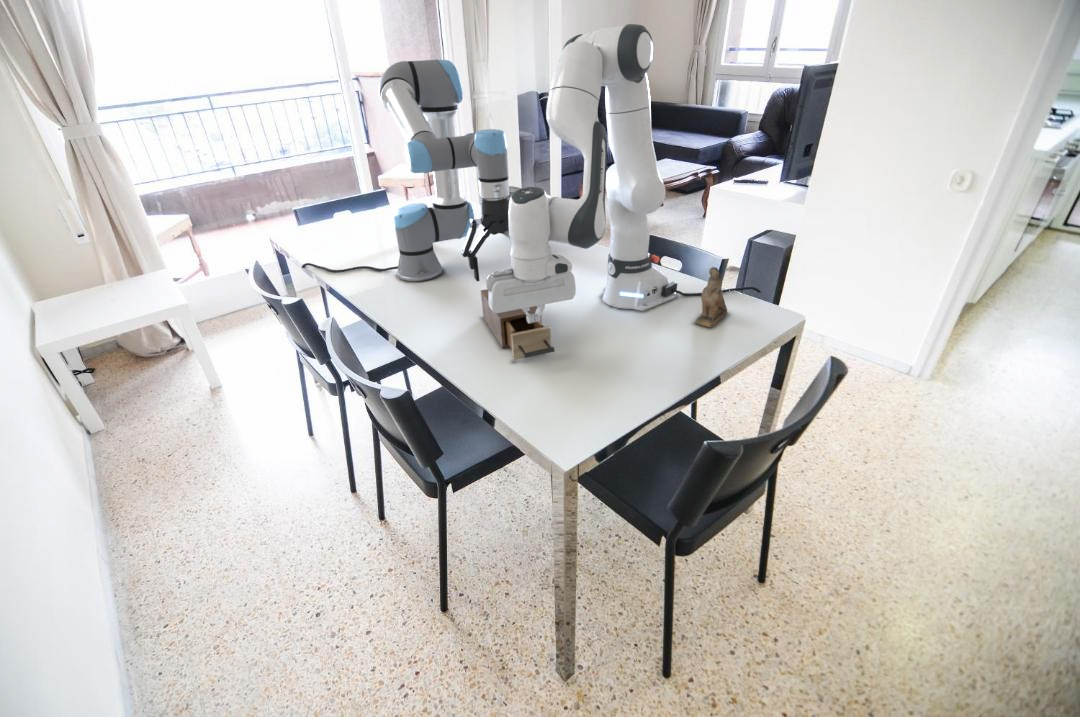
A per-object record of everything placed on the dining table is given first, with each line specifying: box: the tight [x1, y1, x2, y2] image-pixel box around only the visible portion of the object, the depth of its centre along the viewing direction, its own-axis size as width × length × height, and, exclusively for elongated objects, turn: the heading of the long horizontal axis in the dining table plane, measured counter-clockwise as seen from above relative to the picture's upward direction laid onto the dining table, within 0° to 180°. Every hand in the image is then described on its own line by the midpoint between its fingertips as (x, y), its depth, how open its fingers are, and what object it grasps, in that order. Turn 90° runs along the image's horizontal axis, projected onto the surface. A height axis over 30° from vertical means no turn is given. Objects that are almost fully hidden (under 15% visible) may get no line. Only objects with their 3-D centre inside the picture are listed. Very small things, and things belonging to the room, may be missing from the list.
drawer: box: [504, 317, 555, 361], centre depth 127 cm, size 23×10×7 cm, turn 20°
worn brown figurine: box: [695, 266, 728, 328], centre depth 135 cm, size 12×6×18 cm, turn 136°
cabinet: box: [480, 288, 542, 349], centre depth 136 cm, size 19×11×9 cm, turn 20°
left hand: (500, 275), depth 137 cm, fingers open, 13 cm apart
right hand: (533, 321), depth 117 cm, fingers closed
